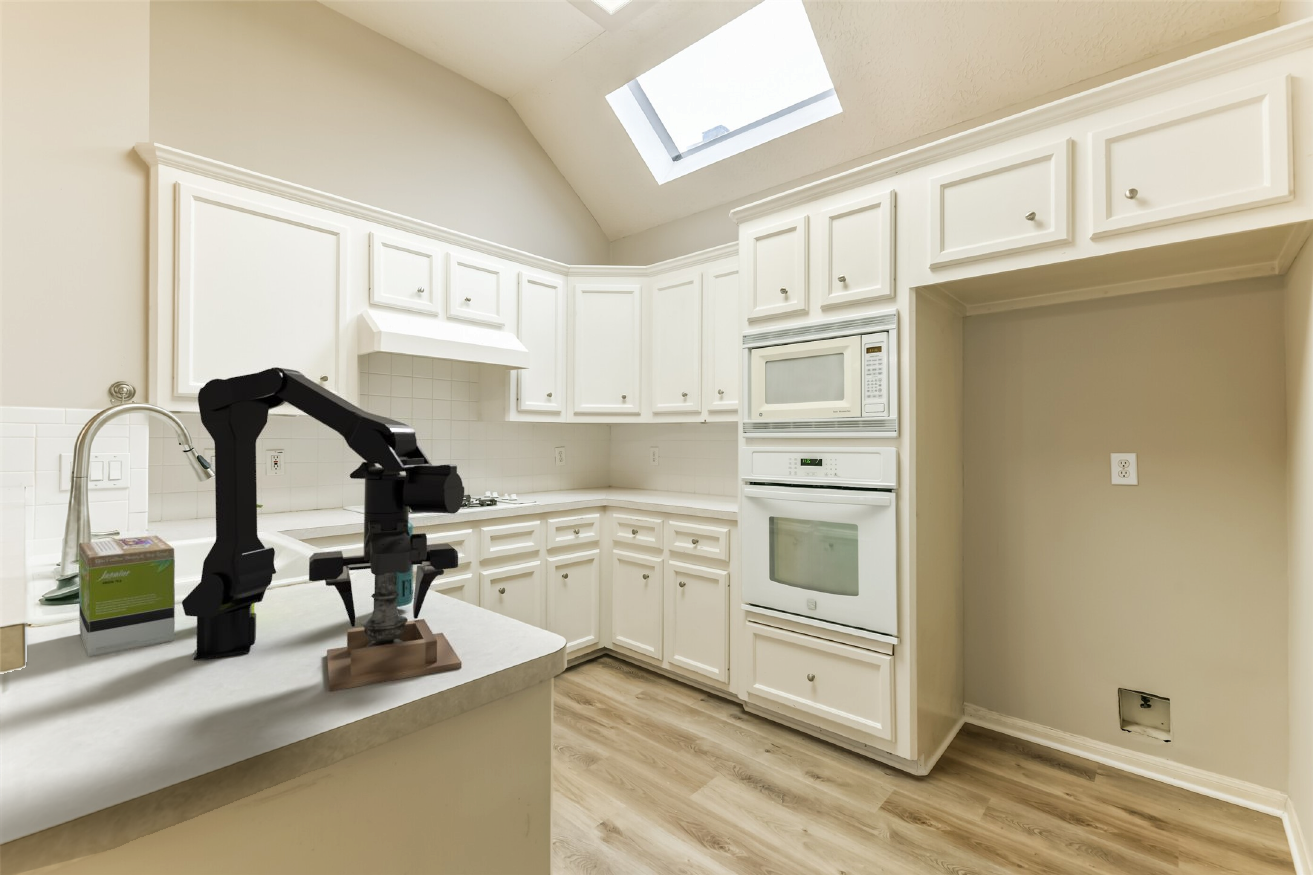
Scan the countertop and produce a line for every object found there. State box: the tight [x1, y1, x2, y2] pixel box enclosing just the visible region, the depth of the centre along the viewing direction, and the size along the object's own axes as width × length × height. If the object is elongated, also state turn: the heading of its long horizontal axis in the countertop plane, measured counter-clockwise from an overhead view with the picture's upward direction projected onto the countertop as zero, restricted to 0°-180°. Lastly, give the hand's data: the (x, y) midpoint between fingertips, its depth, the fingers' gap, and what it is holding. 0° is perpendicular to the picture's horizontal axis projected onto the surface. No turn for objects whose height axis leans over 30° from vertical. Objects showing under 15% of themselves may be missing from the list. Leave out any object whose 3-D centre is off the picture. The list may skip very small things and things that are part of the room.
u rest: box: [326, 618, 463, 692], centre depth 84 cm, size 16×14×4 cm
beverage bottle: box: [397, 521, 415, 608], centre depth 108 cm, size 6×7×20 cm
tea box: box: [78, 535, 176, 658], centre depth 92 cm, size 15×10×15 cm, turn 48°
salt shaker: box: [361, 572, 409, 648], centre depth 83 cm, size 6×6×12 cm
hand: (384, 621), depth 83 cm, fingers closed on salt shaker, 8 cm apart
